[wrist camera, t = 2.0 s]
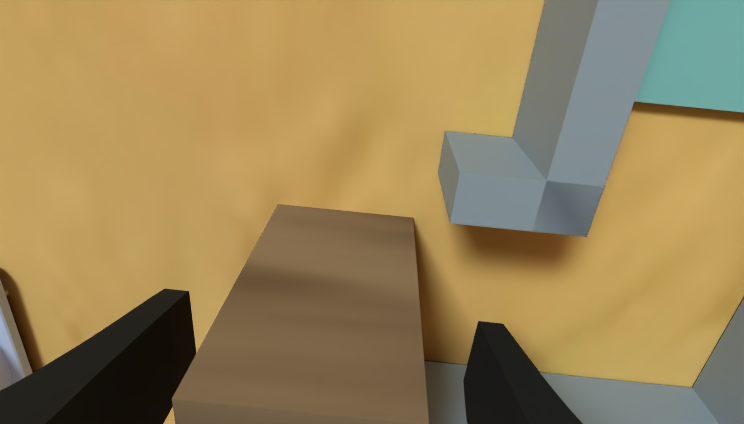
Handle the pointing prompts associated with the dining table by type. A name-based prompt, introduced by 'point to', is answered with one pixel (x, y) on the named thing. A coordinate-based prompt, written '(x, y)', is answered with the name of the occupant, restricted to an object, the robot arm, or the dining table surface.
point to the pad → (698, 57)
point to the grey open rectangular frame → (575, 197)
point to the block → (316, 328)
